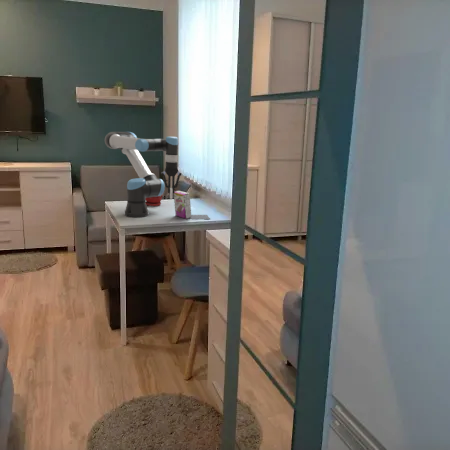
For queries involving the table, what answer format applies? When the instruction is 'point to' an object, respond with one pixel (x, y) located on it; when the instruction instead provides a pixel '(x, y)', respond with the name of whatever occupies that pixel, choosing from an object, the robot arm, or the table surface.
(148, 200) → the plant pot
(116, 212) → the table surface
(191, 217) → the rubber mat
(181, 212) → the candy bar box
